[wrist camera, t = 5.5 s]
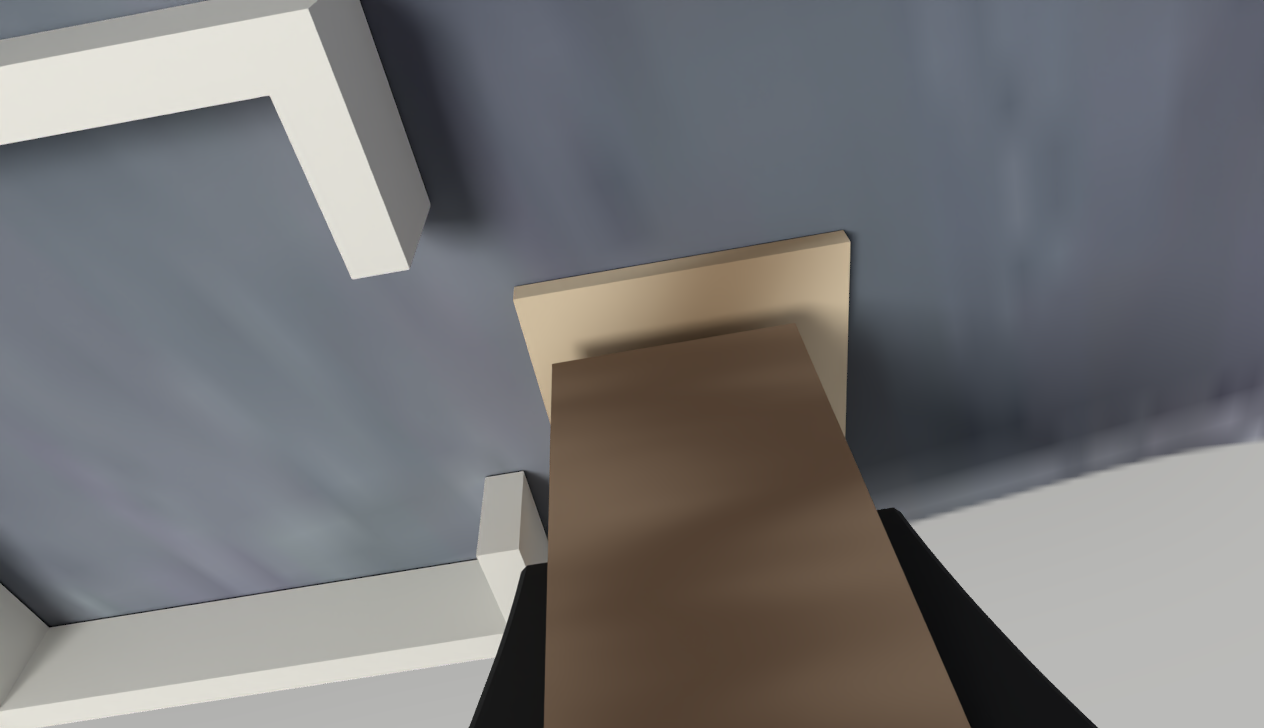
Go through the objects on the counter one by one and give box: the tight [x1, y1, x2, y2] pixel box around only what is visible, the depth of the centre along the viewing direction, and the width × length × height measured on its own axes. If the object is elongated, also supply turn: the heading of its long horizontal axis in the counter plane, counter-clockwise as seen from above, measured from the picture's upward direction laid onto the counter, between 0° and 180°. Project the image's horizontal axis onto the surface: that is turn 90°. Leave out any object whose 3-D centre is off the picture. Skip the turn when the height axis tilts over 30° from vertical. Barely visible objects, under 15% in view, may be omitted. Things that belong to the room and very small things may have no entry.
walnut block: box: [544, 323, 971, 728], centre depth 11 cm, size 4×4×7 cm
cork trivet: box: [513, 230, 850, 437], centre depth 14 cm, size 6×6×1 cm
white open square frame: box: [0, 0, 548, 728], centre depth 13 cm, size 13×13×2 cm
